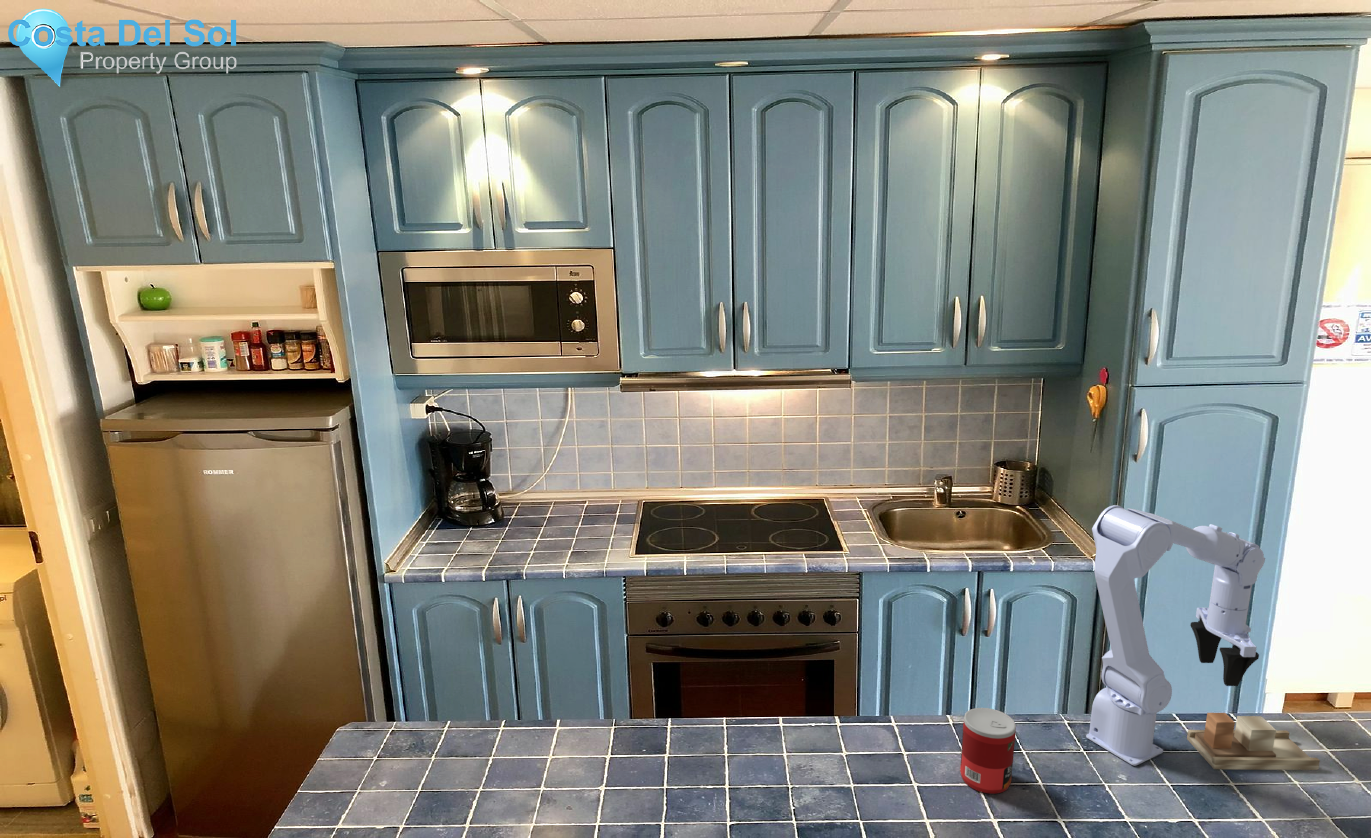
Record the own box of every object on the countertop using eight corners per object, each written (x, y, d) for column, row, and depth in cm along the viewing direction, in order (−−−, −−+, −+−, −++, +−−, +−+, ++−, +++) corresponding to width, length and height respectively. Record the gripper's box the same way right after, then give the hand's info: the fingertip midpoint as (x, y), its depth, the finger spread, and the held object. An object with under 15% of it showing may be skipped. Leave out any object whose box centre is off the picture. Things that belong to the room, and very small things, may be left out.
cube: (1248, 750, 143) (1251, 729, 142) (1234, 736, 147) (1237, 716, 146) (1272, 751, 143) (1276, 730, 142) (1257, 736, 147) (1261, 716, 146)
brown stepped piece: (1214, 759, 142) (1219, 727, 141) (1194, 737, 148) (1199, 707, 147) (1275, 759, 142) (1280, 728, 141) (1253, 738, 148) (1258, 707, 146)
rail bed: (1214, 769, 141) (1215, 759, 141) (1186, 738, 150) (1188, 729, 149) (1318, 770, 141) (1320, 760, 140) (1285, 739, 149) (1286, 730, 149)
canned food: (1014, 798, 135) (1020, 737, 133) (962, 792, 137) (966, 731, 134) (1006, 767, 143) (1011, 709, 140) (957, 762, 144) (961, 704, 142)
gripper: (1279, 622, 140) (1267, 696, 144) (1227, 585, 155) (1217, 652, 158) (1235, 622, 141) (1224, 695, 144) (1188, 585, 155) (1179, 652, 158)
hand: (1218, 673), depth 151 cm, fingers open, 7 cm apart
